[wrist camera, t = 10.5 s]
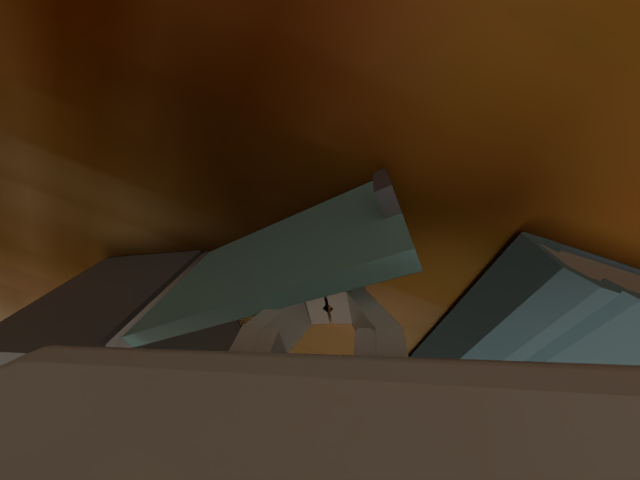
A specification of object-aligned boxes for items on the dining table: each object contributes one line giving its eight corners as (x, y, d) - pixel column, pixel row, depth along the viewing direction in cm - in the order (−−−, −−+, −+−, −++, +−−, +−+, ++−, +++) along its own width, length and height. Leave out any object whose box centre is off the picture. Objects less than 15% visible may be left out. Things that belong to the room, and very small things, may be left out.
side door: (208, 263, 18) (118, 357, 12) (191, 244, 18) (83, 332, 11) (392, 187, 13) (426, 280, 6) (380, 153, 12) (403, 218, 5)
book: (503, 434, 26) (531, 499, 22) (370, 392, 26) (371, 448, 22) (762, 306, 14) (940, 396, 10) (512, 225, 14) (579, 280, 9)
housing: (106, 257, 20) (-65, 361, 12) (200, 250, 18) (66, 371, 10) (196, 373, 29) (132, 478, 21) (267, 377, 27) (226, 498, 19)
